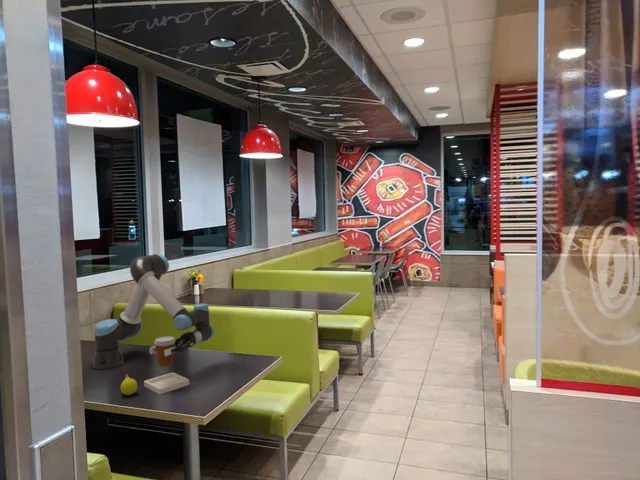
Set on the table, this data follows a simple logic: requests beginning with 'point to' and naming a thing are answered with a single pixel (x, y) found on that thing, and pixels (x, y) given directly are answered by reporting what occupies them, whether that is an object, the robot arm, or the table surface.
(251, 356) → the table surface
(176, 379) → the square tray
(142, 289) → the robot arm
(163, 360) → the disposable coffee cup
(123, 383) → the ornament
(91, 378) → the table surface
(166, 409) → the table surface
